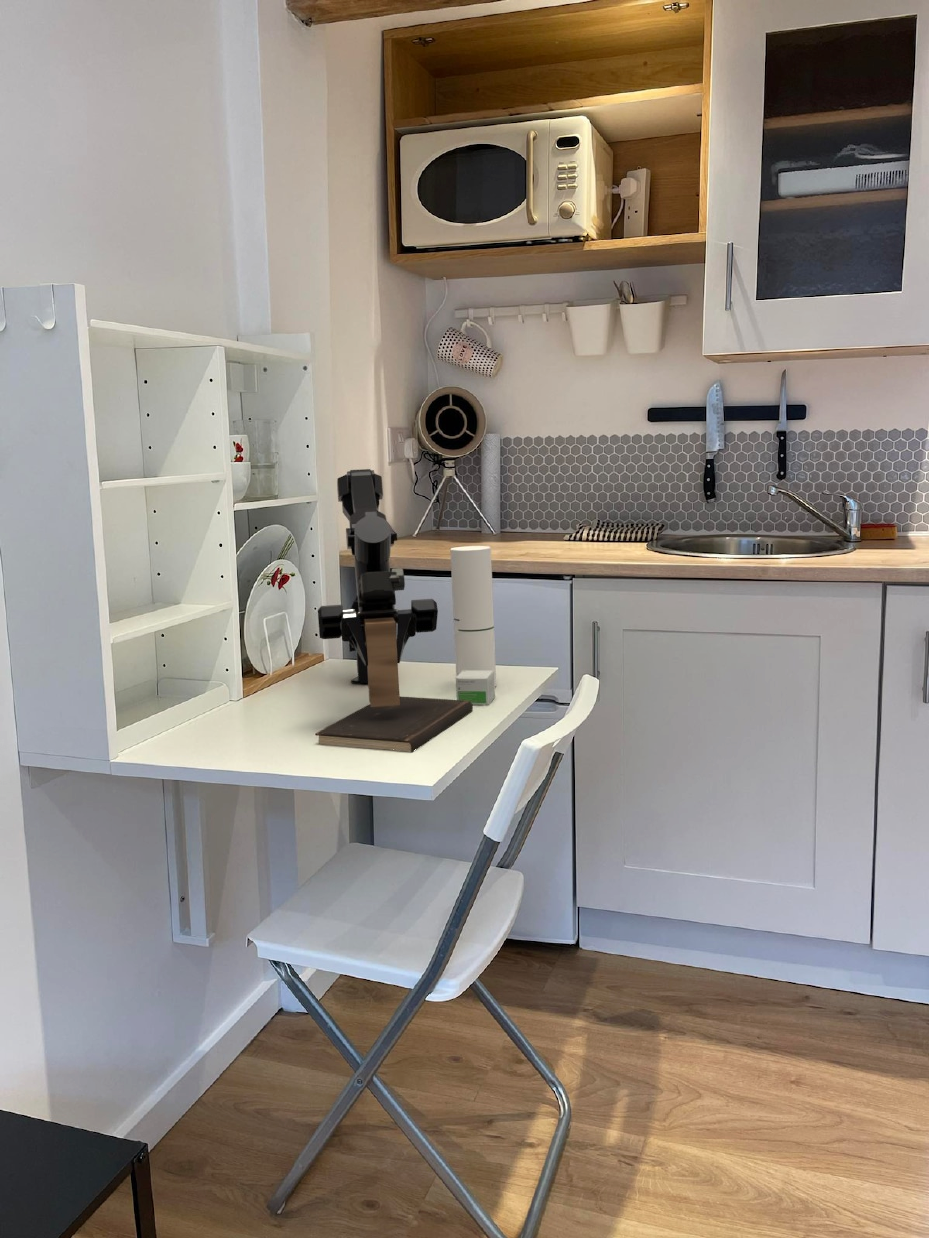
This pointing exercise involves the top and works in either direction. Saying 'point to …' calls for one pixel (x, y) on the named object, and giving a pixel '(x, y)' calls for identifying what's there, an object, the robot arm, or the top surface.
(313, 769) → the top surface
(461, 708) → the hardcover book
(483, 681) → the small box
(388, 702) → the walnut block
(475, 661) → the cylindrical container
